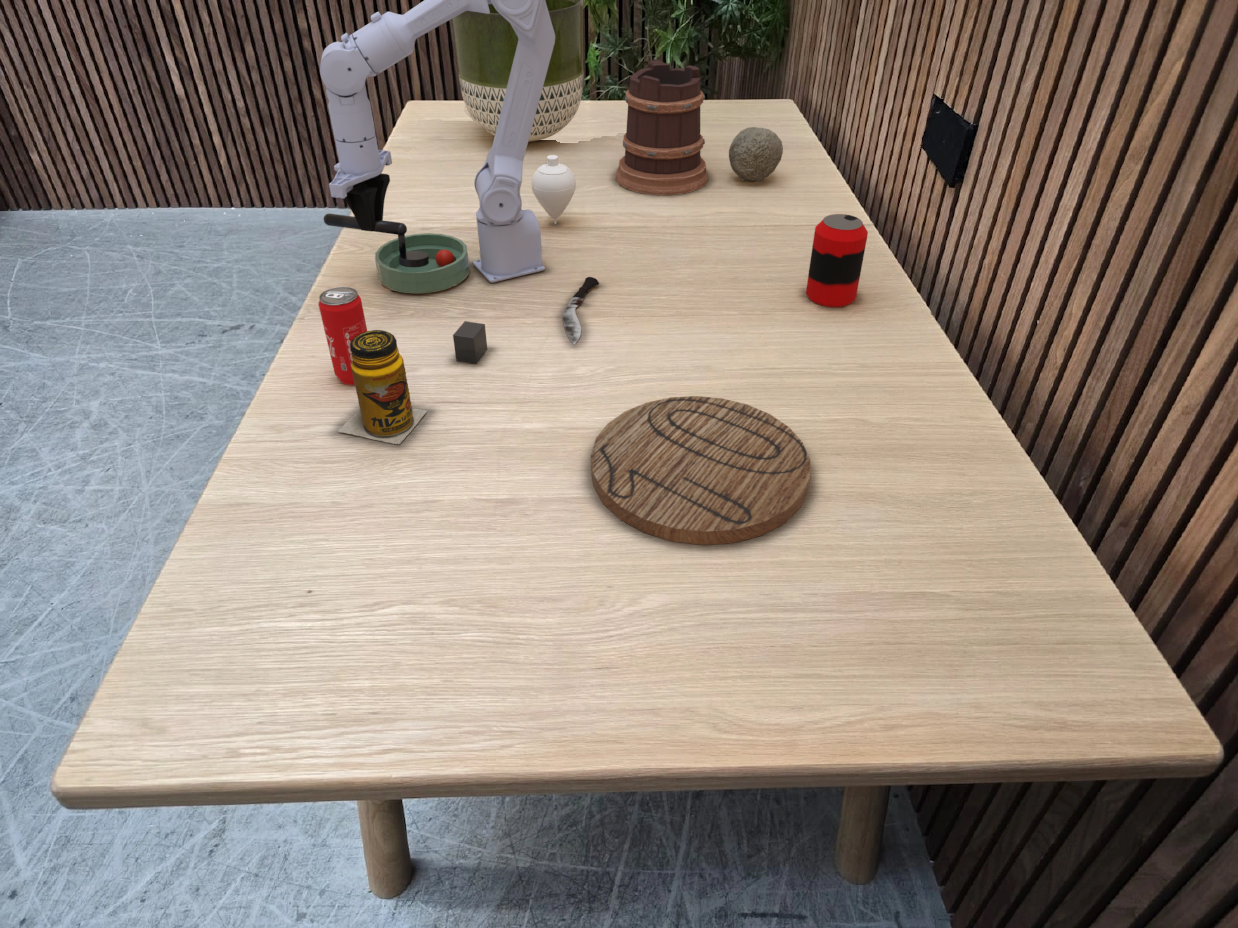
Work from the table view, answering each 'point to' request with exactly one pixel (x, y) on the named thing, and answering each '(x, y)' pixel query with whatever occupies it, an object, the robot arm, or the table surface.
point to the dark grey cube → (470, 342)
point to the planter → (490, 56)
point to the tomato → (444, 258)
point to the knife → (569, 314)
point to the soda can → (836, 260)
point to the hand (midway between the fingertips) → (371, 227)
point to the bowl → (425, 276)
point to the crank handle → (384, 227)
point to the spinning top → (553, 186)
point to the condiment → (380, 390)
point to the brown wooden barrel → (663, 132)
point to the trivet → (700, 470)
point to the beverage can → (342, 327)
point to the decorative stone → (755, 153)
